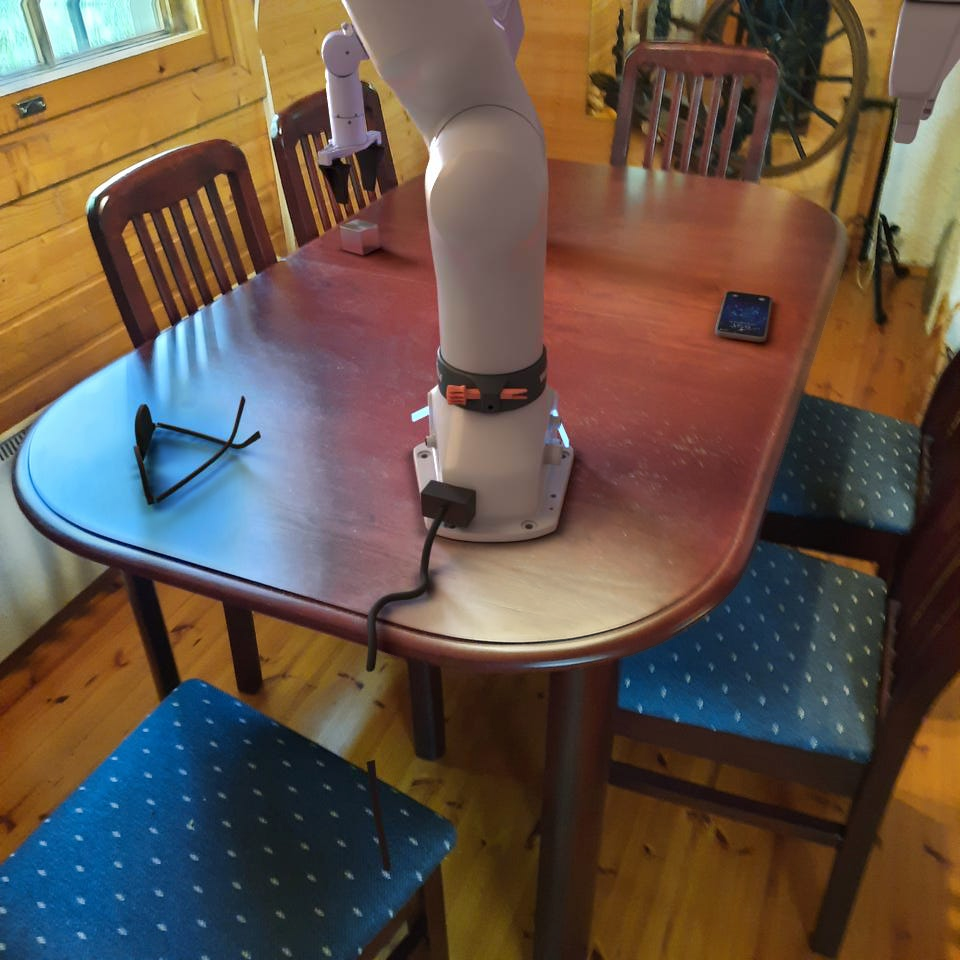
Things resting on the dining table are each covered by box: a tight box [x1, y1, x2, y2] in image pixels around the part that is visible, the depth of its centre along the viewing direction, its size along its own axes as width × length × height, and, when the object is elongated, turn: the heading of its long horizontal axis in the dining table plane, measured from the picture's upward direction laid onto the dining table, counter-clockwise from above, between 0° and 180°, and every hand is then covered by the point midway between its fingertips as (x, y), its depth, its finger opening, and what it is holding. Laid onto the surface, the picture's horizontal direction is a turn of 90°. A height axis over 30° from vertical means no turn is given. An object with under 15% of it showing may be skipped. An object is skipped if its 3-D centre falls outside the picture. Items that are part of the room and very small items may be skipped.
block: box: [339, 218, 380, 256], centre depth 153 cm, size 4×5×4 cm
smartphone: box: [714, 290, 774, 343], centre depth 128 cm, size 7×1×15 cm
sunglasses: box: [132, 395, 262, 506], centre depth 100 cm, size 17×14×5 cm
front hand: (912, 129), depth 84 cm, fingers open, 8 cm apart
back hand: (356, 196), depth 148 cm, fingers open, 7 cm apart
